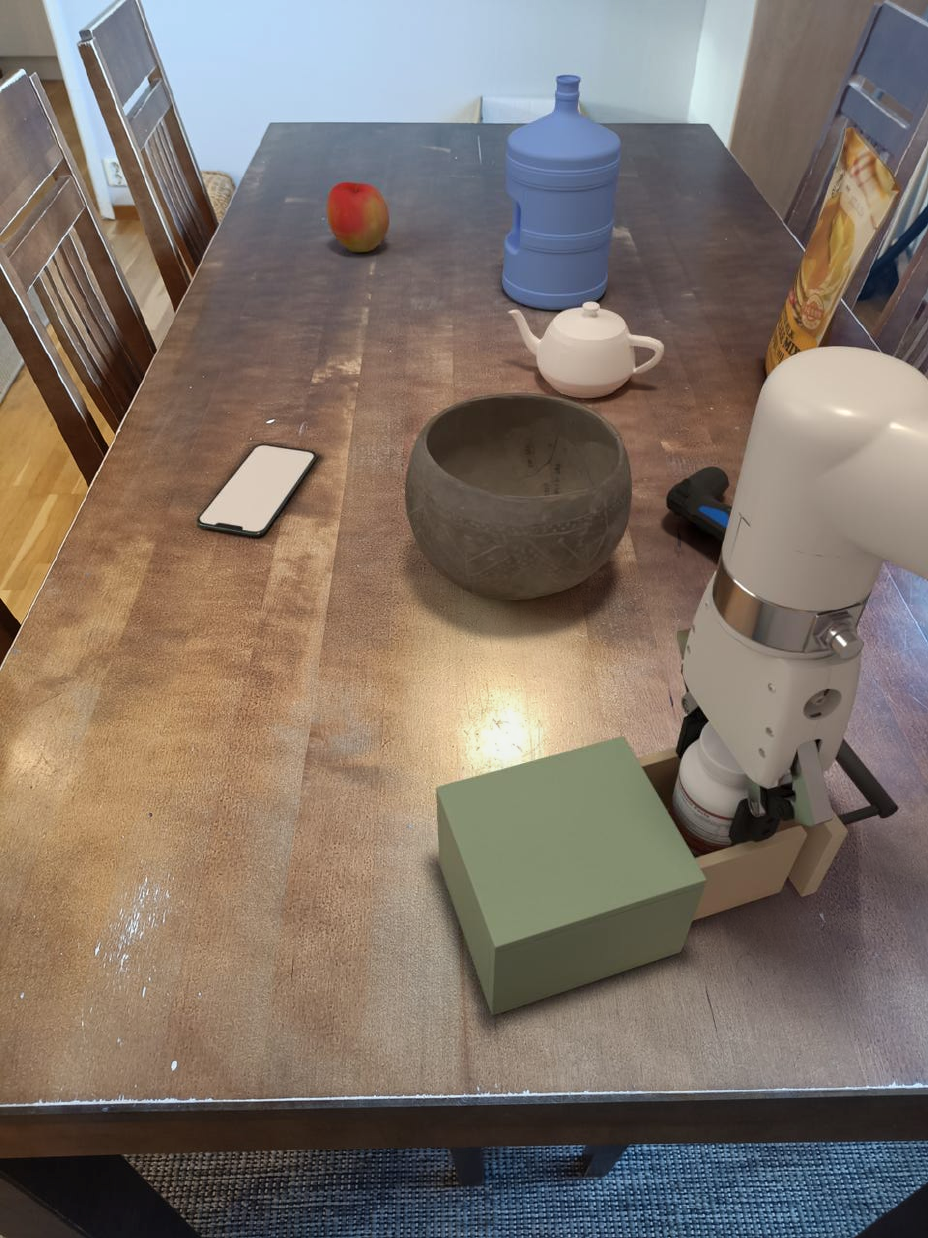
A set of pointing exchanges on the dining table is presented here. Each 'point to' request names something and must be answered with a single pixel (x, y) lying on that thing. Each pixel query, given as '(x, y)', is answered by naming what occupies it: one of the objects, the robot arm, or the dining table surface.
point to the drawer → (773, 840)
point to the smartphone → (257, 490)
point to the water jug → (560, 205)
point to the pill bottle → (708, 794)
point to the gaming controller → (702, 500)
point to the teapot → (587, 351)
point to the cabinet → (564, 872)
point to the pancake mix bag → (835, 247)
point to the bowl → (518, 494)
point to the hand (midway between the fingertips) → (723, 789)
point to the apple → (357, 215)
